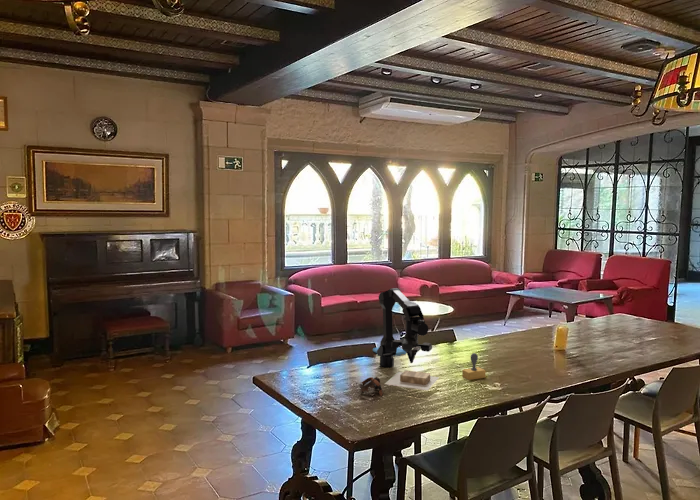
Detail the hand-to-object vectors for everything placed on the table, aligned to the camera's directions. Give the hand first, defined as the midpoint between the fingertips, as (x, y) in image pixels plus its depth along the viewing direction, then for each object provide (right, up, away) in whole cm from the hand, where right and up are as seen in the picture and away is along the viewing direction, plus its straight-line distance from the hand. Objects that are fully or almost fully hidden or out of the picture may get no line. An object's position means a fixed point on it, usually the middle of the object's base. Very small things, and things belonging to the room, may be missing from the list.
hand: (411, 363), depth 251 cm
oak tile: (-4, -7, +2) cm, 8 cm away
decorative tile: (-7, -6, +51) cm, 52 cm away
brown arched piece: (-19, -11, -15) cm, 26 cm away
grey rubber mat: (+1, -9, +1) cm, 9 cm away
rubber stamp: (+32, -9, +7) cm, 34 cm away
